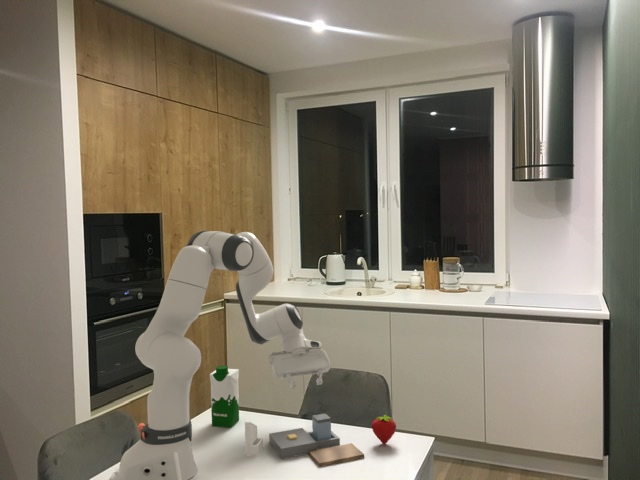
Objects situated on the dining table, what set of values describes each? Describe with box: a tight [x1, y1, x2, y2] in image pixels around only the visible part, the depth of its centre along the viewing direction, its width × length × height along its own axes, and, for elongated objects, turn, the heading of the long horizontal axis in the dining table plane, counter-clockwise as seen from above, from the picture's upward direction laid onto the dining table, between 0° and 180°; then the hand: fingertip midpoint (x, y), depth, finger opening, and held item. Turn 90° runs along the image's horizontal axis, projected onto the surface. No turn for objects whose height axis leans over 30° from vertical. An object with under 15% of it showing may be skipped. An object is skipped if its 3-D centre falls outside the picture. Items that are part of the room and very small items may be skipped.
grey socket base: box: [268, 427, 341, 460], centre depth 165 cm, size 19×12×4 cm, turn 112°
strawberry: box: [371, 413, 397, 445], centre depth 165 cm, size 6×8×10 cm
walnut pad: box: [308, 442, 365, 467], centre depth 157 cm, size 14×8×1 cm, turn 112°
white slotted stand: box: [244, 421, 264, 457], centre depth 160 cm, size 4×10×9 cm, turn 169°
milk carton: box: [209, 365, 240, 429], centre depth 184 cm, size 9×9×20 cm
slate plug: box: [311, 413, 332, 441], centre depth 167 cm, size 4×4×8 cm
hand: (306, 385), depth 178 cm, fingers open, 8 cm apart
